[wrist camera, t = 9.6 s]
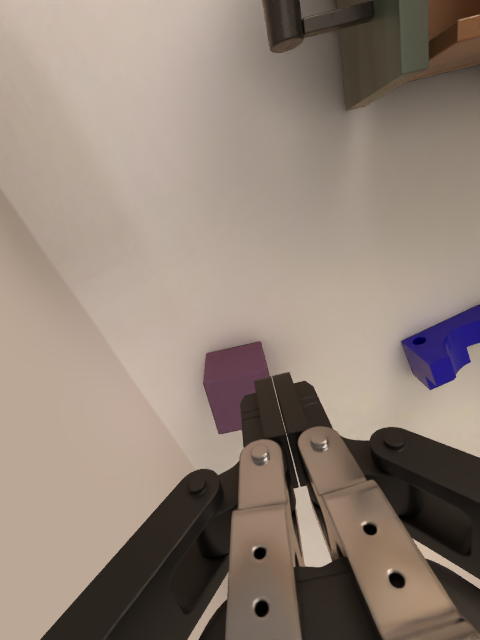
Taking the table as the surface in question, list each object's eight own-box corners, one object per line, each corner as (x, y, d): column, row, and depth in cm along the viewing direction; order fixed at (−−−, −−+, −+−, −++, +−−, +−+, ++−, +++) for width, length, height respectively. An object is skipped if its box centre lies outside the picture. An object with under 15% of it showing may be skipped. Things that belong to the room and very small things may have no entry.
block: (219, 399, 28) (218, 435, 24) (205, 353, 27) (202, 383, 23) (270, 387, 28) (279, 422, 24) (260, 340, 27) (267, 368, 22)
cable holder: (413, 374, 29) (441, 401, 25) (400, 341, 27) (428, 365, 24) (505, 332, 28) (549, 354, 24) (496, 296, 26) (541, 313, 23)
